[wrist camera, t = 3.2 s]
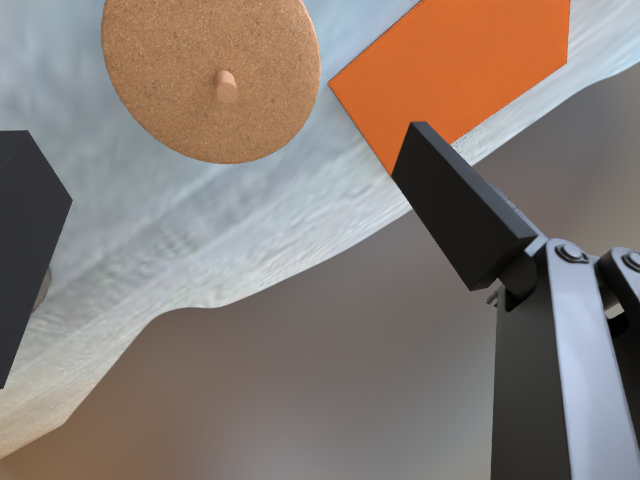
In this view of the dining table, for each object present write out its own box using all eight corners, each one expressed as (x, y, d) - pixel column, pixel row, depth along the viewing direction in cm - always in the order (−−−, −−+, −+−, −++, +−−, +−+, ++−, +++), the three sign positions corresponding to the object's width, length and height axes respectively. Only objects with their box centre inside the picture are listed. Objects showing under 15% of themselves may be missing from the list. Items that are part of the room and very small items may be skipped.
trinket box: (247, 132, 27) (264, 202, 21) (102, 57, 20) (67, 128, 14) (320, 12, 21) (371, 60, 16) (159, -145, 15) (141, -163, 9)
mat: (393, 180, 36) (395, 182, 36) (327, 82, 25) (328, 84, 25) (563, 61, 30) (566, 63, 30) (573, -134, 19) (578, -134, 19)
